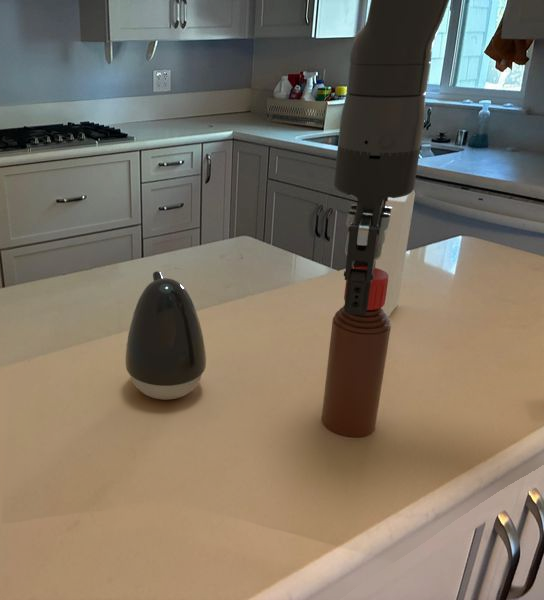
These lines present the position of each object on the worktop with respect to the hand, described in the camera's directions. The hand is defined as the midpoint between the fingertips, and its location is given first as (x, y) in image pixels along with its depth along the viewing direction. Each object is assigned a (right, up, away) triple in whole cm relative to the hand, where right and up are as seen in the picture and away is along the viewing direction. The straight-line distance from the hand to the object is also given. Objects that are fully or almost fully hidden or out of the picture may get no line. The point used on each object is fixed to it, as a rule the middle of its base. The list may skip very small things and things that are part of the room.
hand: (358, 300), depth 66 cm
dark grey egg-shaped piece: (-20, -12, +14) cm, 27 cm away
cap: (0, 0, 0) cm, 1 cm away
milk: (+15, -1, +34) cm, 37 cm away
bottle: (+1, -14, +6) cm, 15 cm away
